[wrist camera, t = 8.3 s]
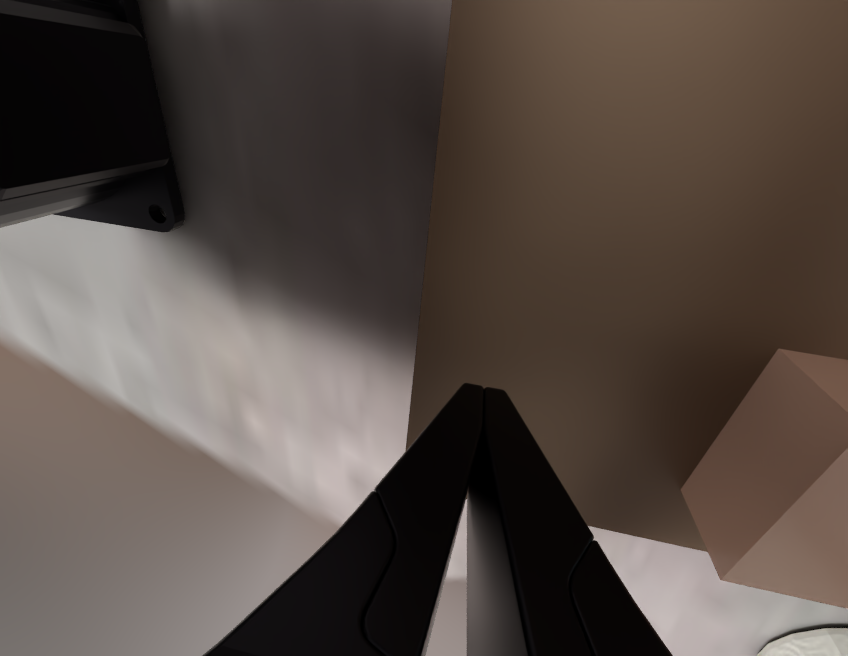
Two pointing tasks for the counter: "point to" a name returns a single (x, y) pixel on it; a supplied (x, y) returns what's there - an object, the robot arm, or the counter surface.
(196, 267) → the counter surface
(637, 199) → the walnut plate
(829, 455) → the terracotta block
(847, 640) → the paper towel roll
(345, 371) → the counter surface
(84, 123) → the robot arm
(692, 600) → the counter surface
